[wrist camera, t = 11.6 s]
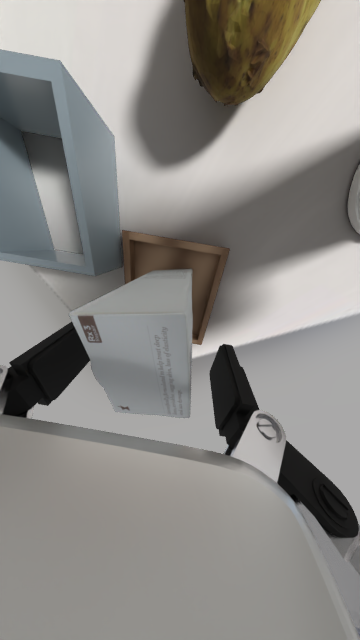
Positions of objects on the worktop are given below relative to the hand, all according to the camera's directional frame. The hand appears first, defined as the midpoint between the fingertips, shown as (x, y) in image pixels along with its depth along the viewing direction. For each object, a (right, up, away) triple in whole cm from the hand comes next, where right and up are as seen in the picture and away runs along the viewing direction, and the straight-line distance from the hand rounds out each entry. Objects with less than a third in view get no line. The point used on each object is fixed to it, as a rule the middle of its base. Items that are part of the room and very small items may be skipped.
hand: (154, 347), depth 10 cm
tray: (+1, +6, +12) cm, 13 cm away
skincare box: (+1, +6, +11) cm, 12 cm away
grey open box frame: (-11, +16, +7) cm, 21 cm away
